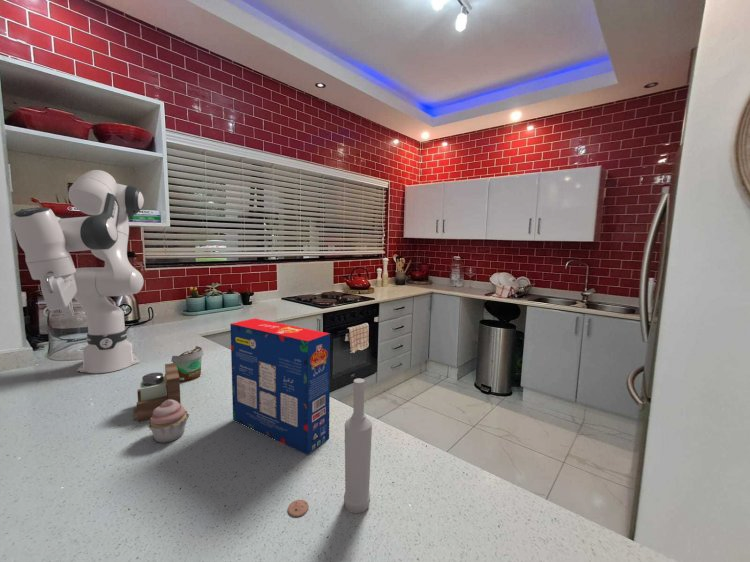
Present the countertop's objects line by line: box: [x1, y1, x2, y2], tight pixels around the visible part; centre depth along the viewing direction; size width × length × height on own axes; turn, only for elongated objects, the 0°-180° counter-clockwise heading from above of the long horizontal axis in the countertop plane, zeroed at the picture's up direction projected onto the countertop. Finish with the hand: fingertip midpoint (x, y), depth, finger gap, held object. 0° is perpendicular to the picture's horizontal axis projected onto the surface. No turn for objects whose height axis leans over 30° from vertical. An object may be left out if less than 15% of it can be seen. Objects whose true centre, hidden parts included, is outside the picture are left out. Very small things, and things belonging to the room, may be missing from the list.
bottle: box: [343, 377, 373, 514], centre depth 63 cm, size 5×5×25 cm
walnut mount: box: [133, 362, 182, 423], centre depth 98 cm, size 14×11×11 cm
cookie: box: [287, 499, 310, 518], centre depth 63 cm, size 4×4×1 cm
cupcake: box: [146, 399, 190, 444], centre depth 84 cm, size 9×9×10 cm
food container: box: [171, 345, 205, 383], centre depth 121 cm, size 12×6×10 cm, turn 168°
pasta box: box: [230, 317, 331, 456], centre depth 88 cm, size 28×8×28 cm, turn 59°
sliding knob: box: [139, 372, 167, 401], centre depth 97 cm, size 7×6×10 cm
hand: (70, 316), depth 93 cm, fingers closed
